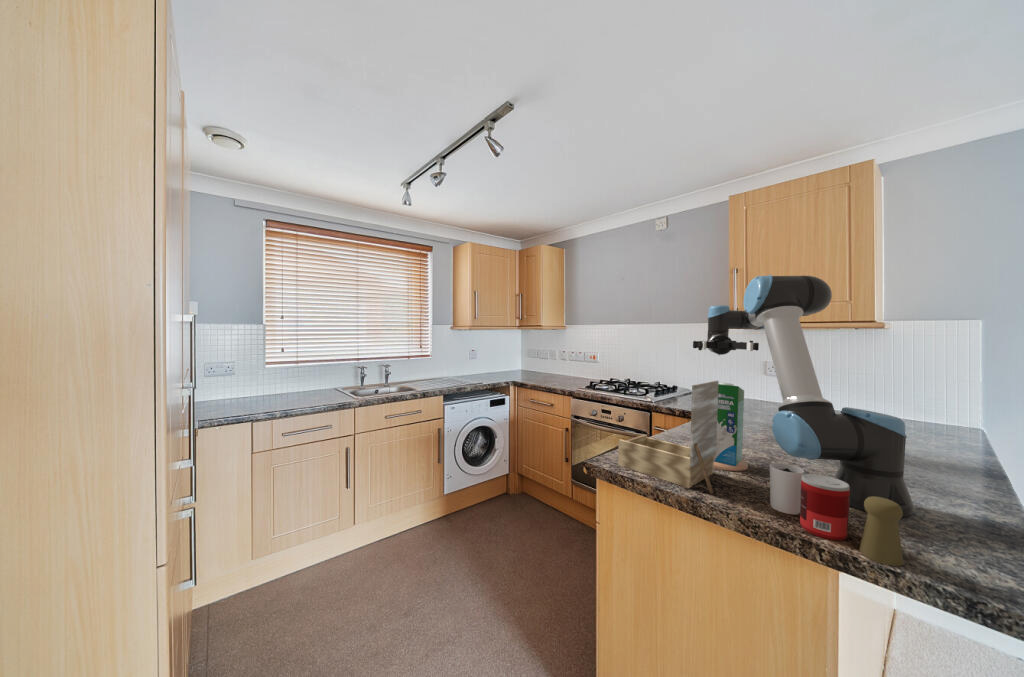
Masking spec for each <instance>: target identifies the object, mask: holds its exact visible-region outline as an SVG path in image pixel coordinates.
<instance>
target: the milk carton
mask: <svg viewBox="0 0 1024 677" xmlns="http://www.w3.org/2000/svg"><path fill="white" fill-rule="evenodd" d="M744 406H745V390H744V388H742V387H740V386H738V385H734V383H728V382H719V383H718V413H717V445H716V454H715V455H714V462H718V463H723V464H727V465H732V466H736V465H737V464H738V463H739V462H740V461H741V460H743V440H744V439H743V438H744V437H743V435H744V411H745V410H744V408H745V407H744Z"/></svg>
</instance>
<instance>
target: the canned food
mask: <svg viewBox="0 0 1024 677" xmlns="http://www.w3.org/2000/svg"><path fill="white" fill-rule="evenodd" d="M849 500H850V488H849V485H848V484H847V483H845V482H844V481H841V480H839V479H836V478H834V477H833V476H832V477H831V476H828V475H823V474H815V473H814V474H813V473H810V474H809V473H807V474H805V473H804V475H802V478H801V500H800V513H799V523H800V526H801V528H802V529H803V530H804V531H806V532H807V533H810V534H812V535H813V536H816V537H818V538H823V539H825V540H831V541H844V540H846V539H847V537H848V535H849V521H850V520H849V518H850V517H849V516H850V506H849Z"/></svg>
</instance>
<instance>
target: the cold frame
mask: <svg viewBox="0 0 1024 677" xmlns="http://www.w3.org/2000/svg"><path fill="white" fill-rule="evenodd" d="M719 383H720V382H719V380H712V381H707V382H704V383H702V382H701V383H697V384H693V385H691V387H692V388H691V408H690V409H691V412H690V413H691V416H690V443H689V444H690V447H689V446H685V445H681V444H677V443H673V442H670V441H665V440H661V439H657V438H653V437H649V436H648V434H641V435H638V436H635V437H633V438H629V439H627V440H624V439H621V438H620V439H618V445H617V446H618V450H617V455H618V456H617V466H620V467H623V468H625V469H629V470H632V471H635V472H638V473H641V474H644V475H647V476H651V477H653V478H657V479H659V480H663V481H665V480H666V482H669V483H671V482H672V483H671V484H675V485H678V486H681V487H684V488H687V489H690V488H692V487H693V485H694V486H695V485H697V484H699V482H702V481H703V480H705V483H706V486H707V489H708V492H709V494H710V495H713V494H715V492H714V490H713V486H712V484H711V480H710V477H709V476H711V475H713V474H714V470H715V468H714V455H715V454H716V445H717V413H718V384H719Z"/></svg>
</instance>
